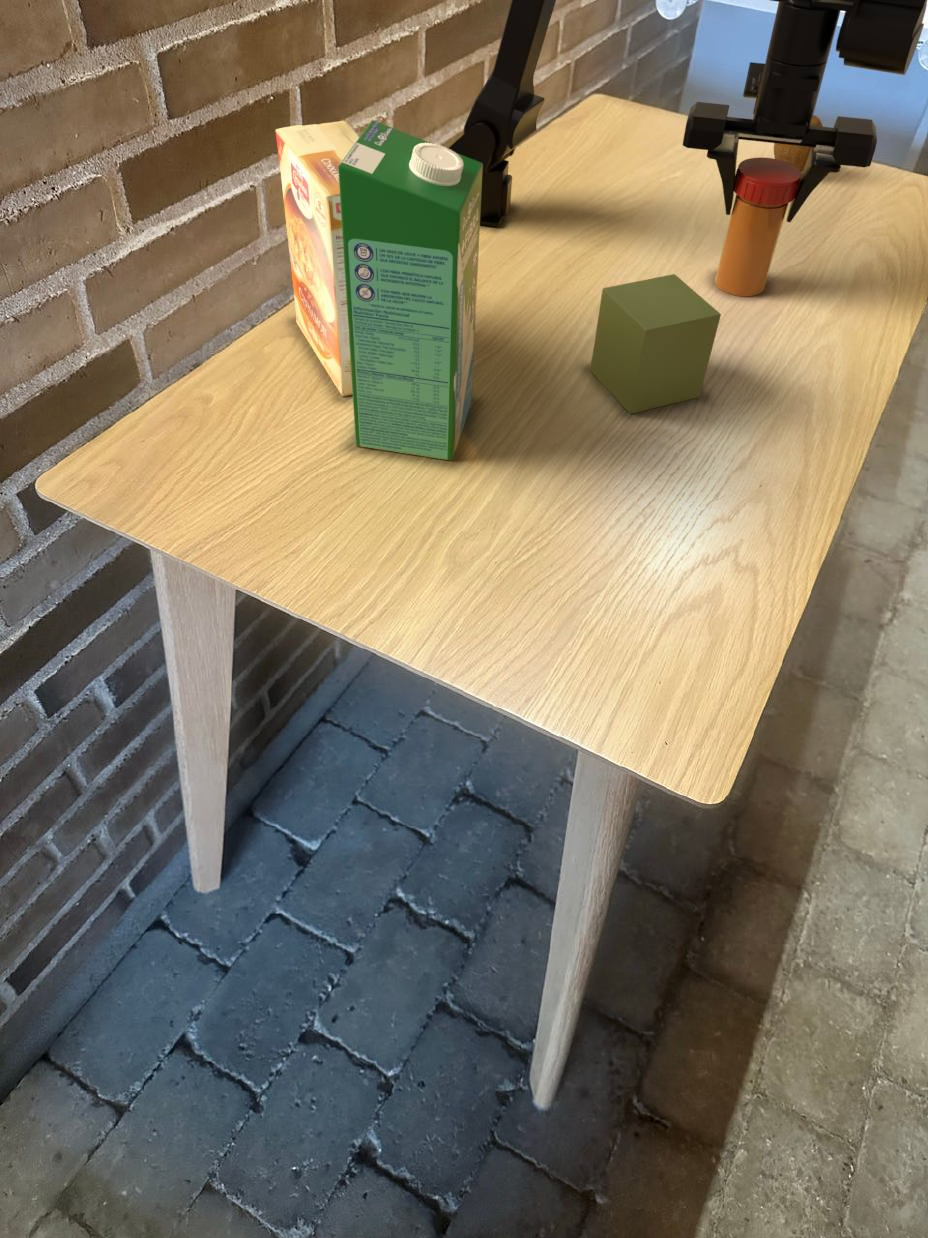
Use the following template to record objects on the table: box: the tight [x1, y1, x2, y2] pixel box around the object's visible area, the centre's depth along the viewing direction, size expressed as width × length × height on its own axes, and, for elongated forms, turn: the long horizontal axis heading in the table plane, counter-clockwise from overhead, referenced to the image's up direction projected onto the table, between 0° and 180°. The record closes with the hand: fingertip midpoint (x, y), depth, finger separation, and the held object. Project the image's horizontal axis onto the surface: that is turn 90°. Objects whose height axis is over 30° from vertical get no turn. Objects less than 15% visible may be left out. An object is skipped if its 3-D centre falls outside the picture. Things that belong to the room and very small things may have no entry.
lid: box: [734, 157, 802, 205], centre depth 99 cm, size 7×7×2 cm
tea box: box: [589, 273, 722, 415], centre depth 90 cm, size 8×8×9 cm
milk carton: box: [338, 119, 483, 462], centre depth 79 cm, size 9×9×25 cm
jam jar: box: [714, 193, 789, 297], centre depth 104 cm, size 6×6×12 cm
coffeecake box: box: [275, 120, 360, 397], centre depth 89 cm, size 15×7×20 cm, turn 24°
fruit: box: [773, 114, 824, 173], centre depth 127 cm, size 6×6×8 cm
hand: (758, 216), depth 102 cm, fingers closed on lid, 6 cm apart
